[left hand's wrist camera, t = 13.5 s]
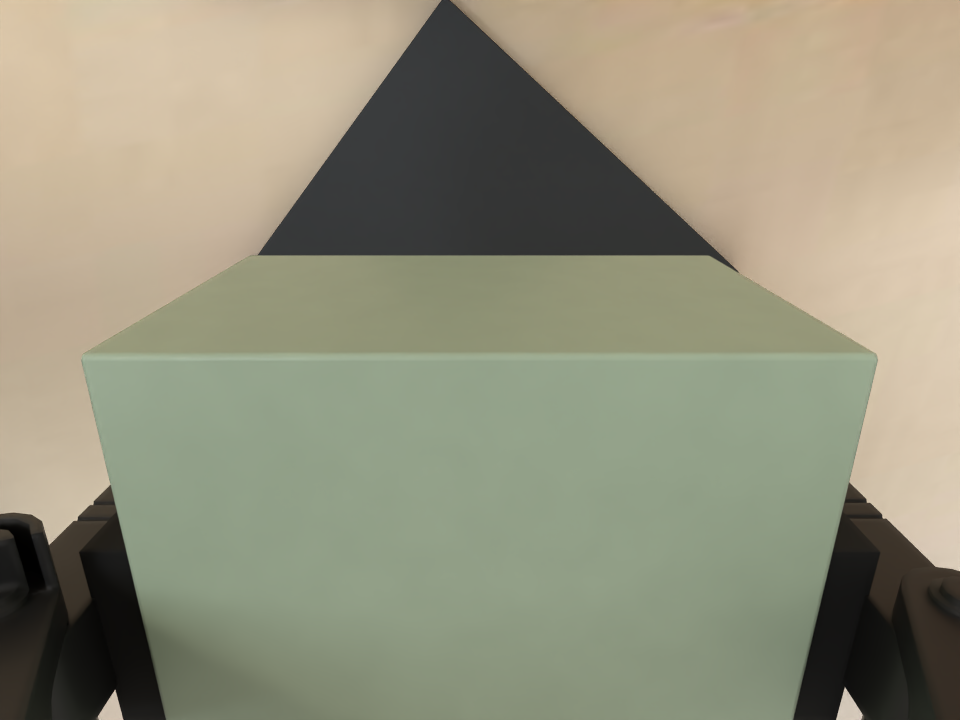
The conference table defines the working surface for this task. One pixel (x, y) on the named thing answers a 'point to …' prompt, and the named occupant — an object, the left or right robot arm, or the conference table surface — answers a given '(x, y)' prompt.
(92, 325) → the conference table surface
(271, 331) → the pale green block
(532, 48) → the conference table surface
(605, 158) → the mat
